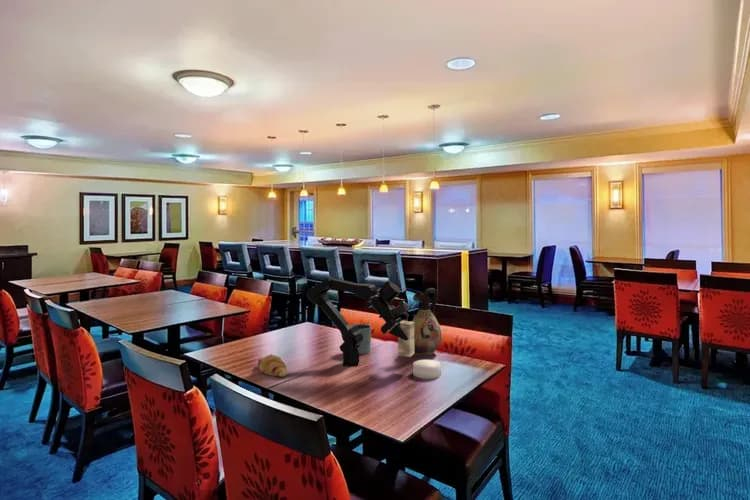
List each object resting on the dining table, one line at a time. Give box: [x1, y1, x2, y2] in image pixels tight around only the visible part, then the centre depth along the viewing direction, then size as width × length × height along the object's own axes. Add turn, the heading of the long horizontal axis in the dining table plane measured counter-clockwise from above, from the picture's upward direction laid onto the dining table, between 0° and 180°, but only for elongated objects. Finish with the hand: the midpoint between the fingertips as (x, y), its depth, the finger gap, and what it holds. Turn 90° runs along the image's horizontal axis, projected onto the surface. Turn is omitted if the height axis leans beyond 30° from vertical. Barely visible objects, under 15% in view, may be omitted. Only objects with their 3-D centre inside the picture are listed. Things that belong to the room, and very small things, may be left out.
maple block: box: [397, 320, 415, 358], centre depth 172 cm, size 5×5×13 cm
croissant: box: [257, 354, 288, 378], centre depth 175 cm, size 21×10×8 cm, turn 43°
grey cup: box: [351, 323, 372, 355], centre depth 200 cm, size 10×10×12 cm
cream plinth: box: [412, 359, 442, 380], centre depth 170 cm, size 11×11×4 cm
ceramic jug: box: [411, 287, 443, 356], centre depth 197 cm, size 17×15×30 cm
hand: (409, 338), depth 172 cm, fingers closed on maple block, 5 cm apart
